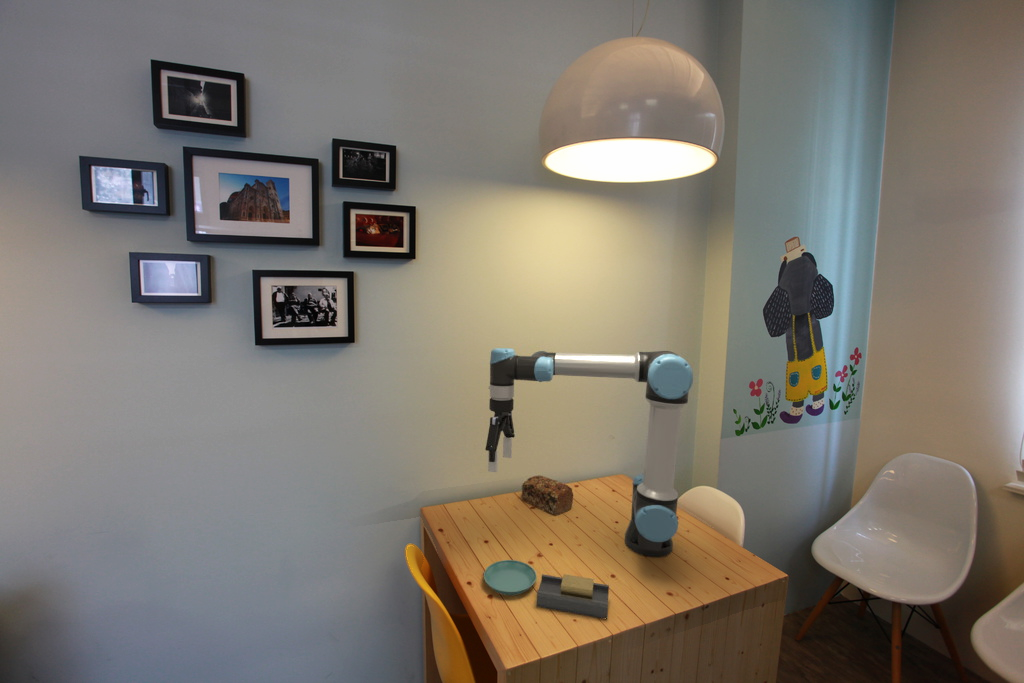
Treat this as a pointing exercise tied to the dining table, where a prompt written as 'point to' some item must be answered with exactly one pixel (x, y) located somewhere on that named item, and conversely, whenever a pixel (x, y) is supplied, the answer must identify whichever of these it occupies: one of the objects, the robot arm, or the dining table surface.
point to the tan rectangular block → (577, 586)
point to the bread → (547, 494)
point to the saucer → (510, 577)
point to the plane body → (572, 598)
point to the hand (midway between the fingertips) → (500, 464)
